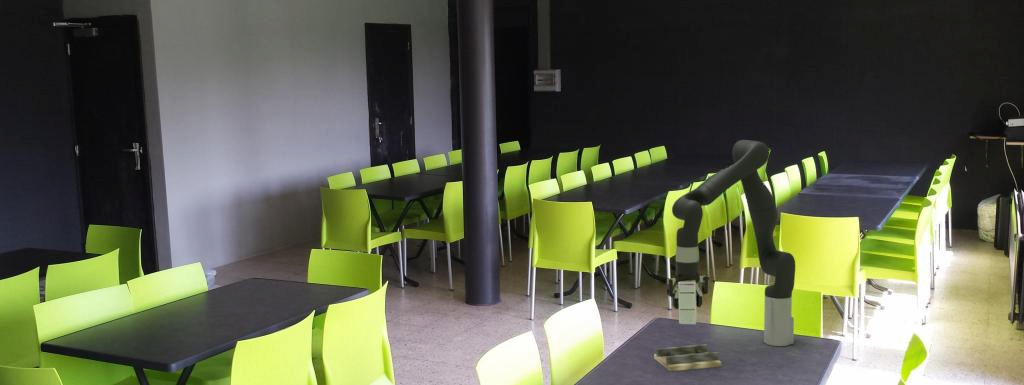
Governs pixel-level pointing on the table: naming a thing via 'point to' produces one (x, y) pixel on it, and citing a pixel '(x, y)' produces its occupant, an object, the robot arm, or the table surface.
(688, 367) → the rail board
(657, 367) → the table surface
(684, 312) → the syrup box
